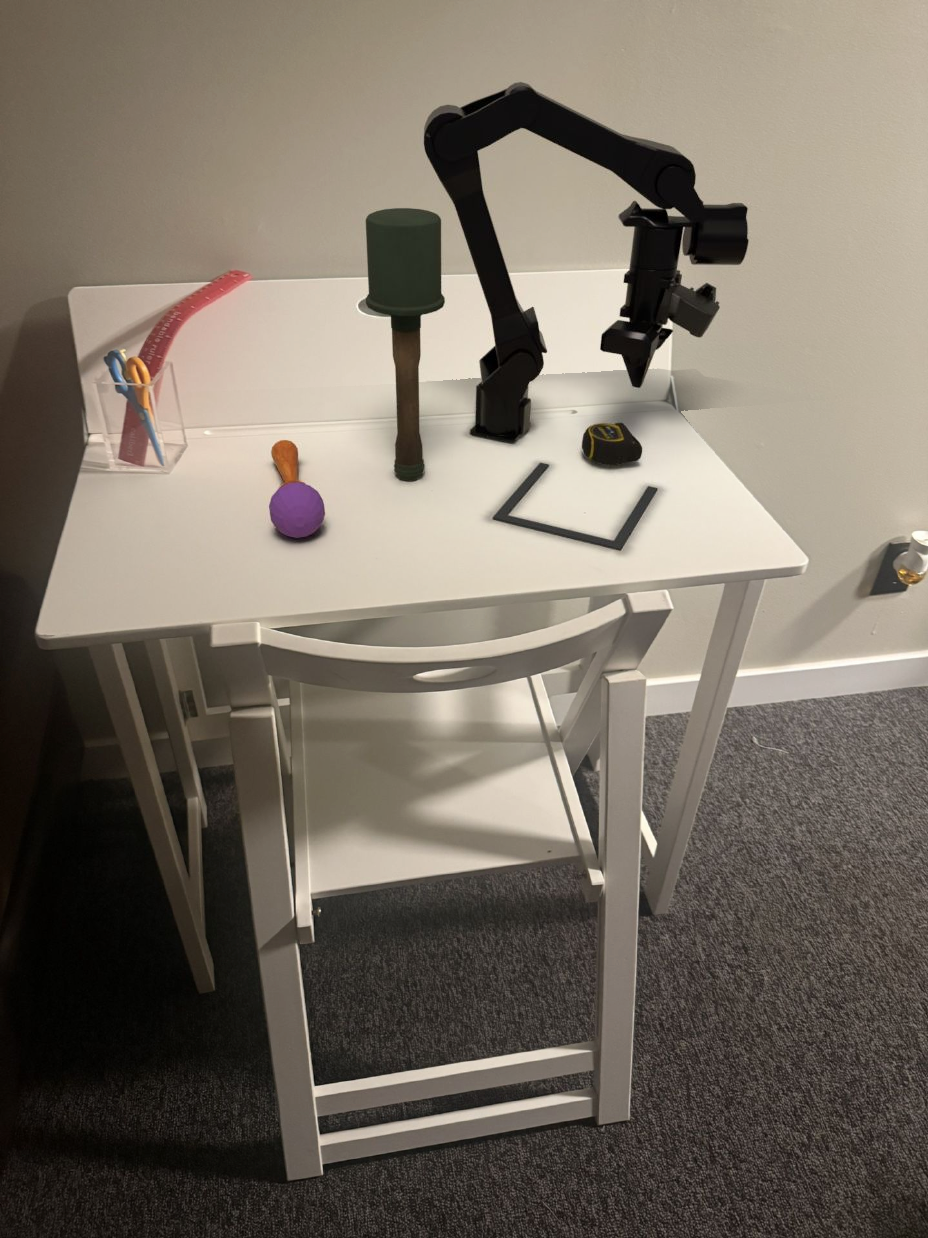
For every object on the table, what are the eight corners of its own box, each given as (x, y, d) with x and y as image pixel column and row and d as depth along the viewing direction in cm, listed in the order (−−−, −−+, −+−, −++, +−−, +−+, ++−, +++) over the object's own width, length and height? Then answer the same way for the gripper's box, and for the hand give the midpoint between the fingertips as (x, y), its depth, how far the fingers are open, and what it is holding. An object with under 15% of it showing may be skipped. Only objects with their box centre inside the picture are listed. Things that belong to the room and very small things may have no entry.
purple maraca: (311, 431, 112) (330, 497, 95) (306, 476, 114) (324, 548, 98) (261, 427, 110) (273, 494, 93) (258, 473, 113) (269, 545, 96)
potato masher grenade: (447, 461, 114) (448, 207, 96) (439, 494, 107) (439, 227, 89) (381, 457, 115) (370, 204, 97) (369, 490, 108) (354, 224, 90)
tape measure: (641, 469, 113) (645, 441, 111) (589, 472, 112) (592, 445, 110) (624, 445, 119) (627, 418, 117) (574, 448, 118) (576, 421, 116)
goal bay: (492, 519, 103) (492, 517, 103) (540, 464, 114) (540, 462, 114) (620, 550, 98) (621, 548, 98) (657, 490, 109) (657, 487, 109)
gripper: (702, 294, 100) (679, 425, 109) (735, 253, 114) (713, 373, 123) (606, 280, 104) (592, 408, 113) (649, 242, 117) (634, 359, 127)
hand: (636, 386), depth 119 cm, fingers closed
